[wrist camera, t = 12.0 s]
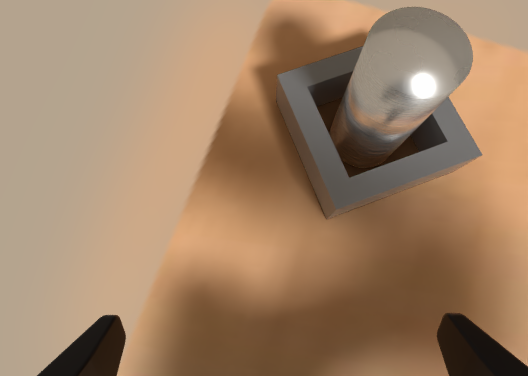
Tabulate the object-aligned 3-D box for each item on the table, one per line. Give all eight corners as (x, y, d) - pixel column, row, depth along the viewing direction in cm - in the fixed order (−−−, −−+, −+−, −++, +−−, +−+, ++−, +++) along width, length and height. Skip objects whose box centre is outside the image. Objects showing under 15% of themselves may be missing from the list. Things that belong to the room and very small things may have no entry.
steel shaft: (405, 155, 25) (492, 76, 15) (345, 176, 24) (394, 110, 15) (377, 99, 26) (440, -6, 16) (319, 119, 26) (349, 24, 16)
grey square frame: (452, 171, 24) (482, 154, 21) (326, 219, 23) (336, 209, 20) (391, 61, 27) (409, 30, 23) (276, 101, 26) (277, 74, 23)
